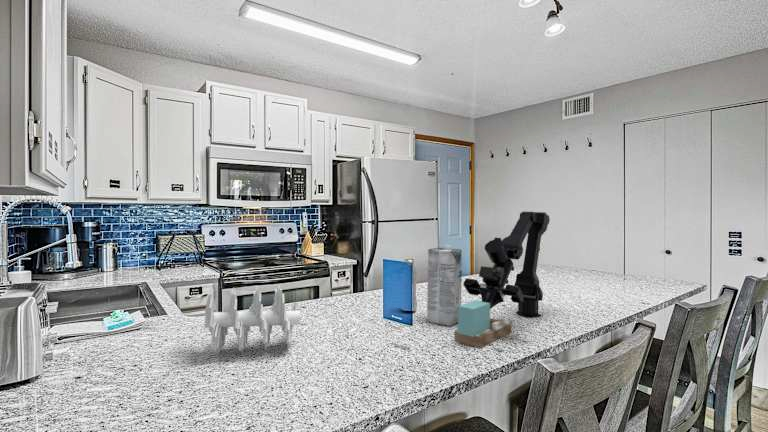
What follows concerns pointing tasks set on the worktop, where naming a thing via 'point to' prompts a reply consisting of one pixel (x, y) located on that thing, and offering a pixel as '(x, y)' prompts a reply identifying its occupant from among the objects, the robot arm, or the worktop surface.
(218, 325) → the white sculpted piece
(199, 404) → the worktop surface
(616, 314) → the worktop surface
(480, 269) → the robot arm
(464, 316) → the teal block
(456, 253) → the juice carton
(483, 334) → the brown tray
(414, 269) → the plastic bottle
